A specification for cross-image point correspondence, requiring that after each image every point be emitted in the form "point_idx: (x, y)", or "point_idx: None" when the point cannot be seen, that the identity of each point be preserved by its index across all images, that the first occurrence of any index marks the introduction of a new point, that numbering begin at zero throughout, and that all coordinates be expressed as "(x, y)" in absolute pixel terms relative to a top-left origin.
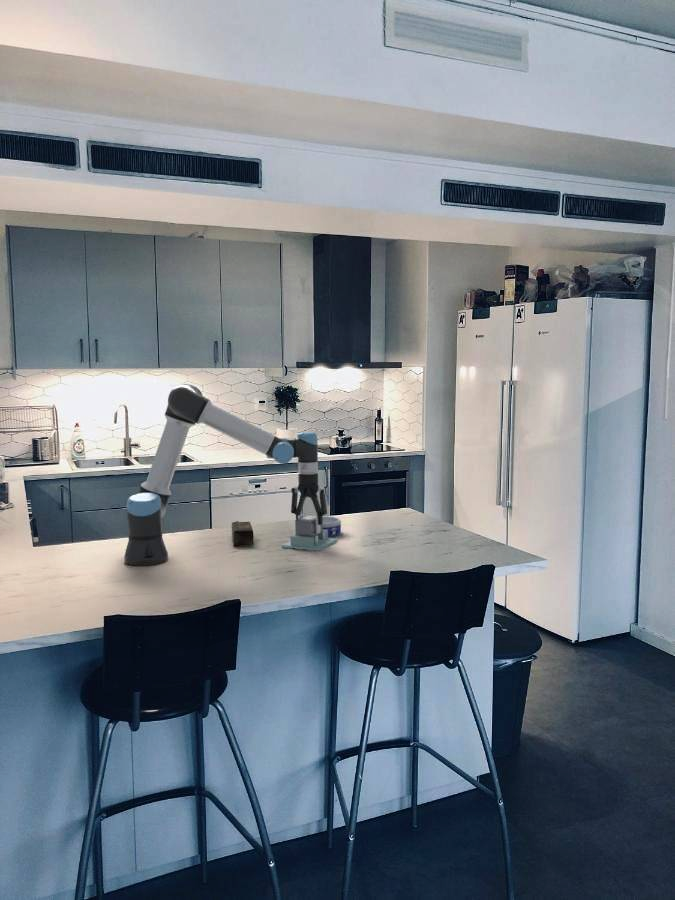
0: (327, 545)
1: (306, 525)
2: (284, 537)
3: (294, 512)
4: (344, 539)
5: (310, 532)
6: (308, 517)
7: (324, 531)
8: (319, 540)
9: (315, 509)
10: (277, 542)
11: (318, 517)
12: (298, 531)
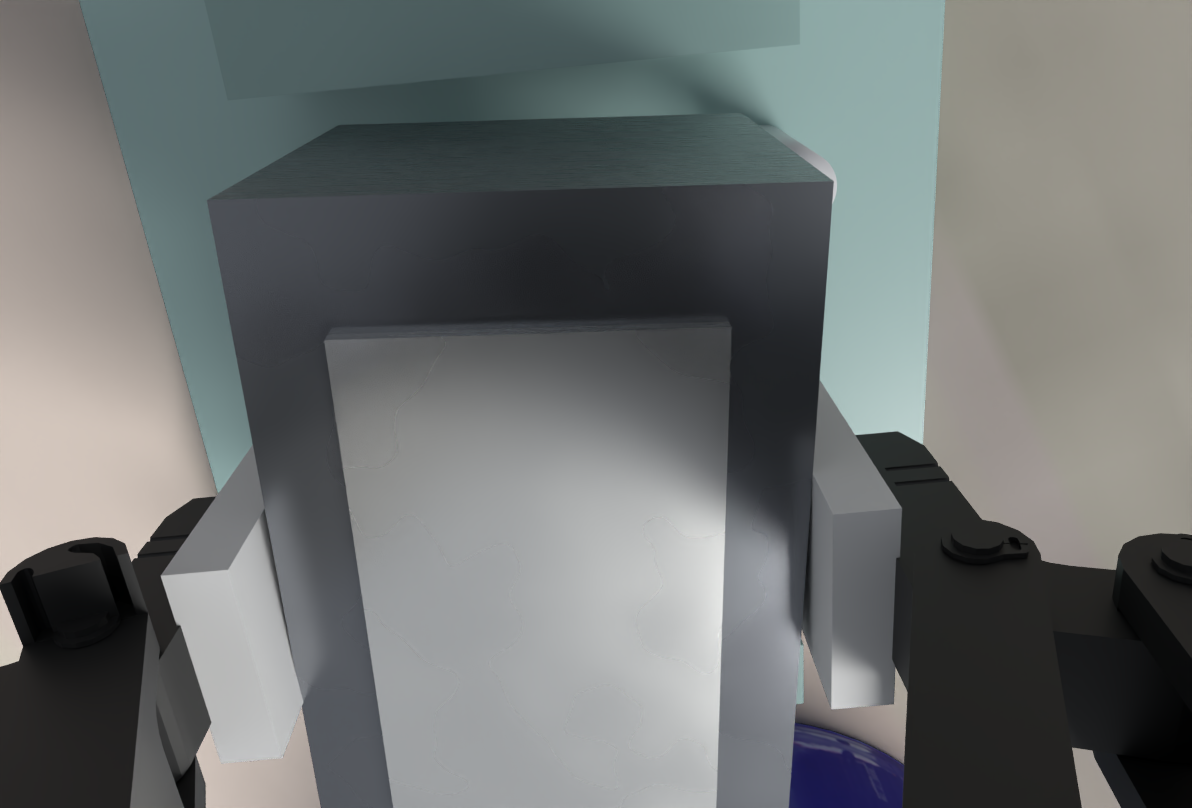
0: (178, 318)
1: (396, 164)
2: None
3: (1099, 594)
4: (263, 780)
5: (313, 141)
6: (574, 615)
7: None
8: None
9: (122, 771)
10: (1162, 232)
11: (173, 613)
12: (670, 131)
